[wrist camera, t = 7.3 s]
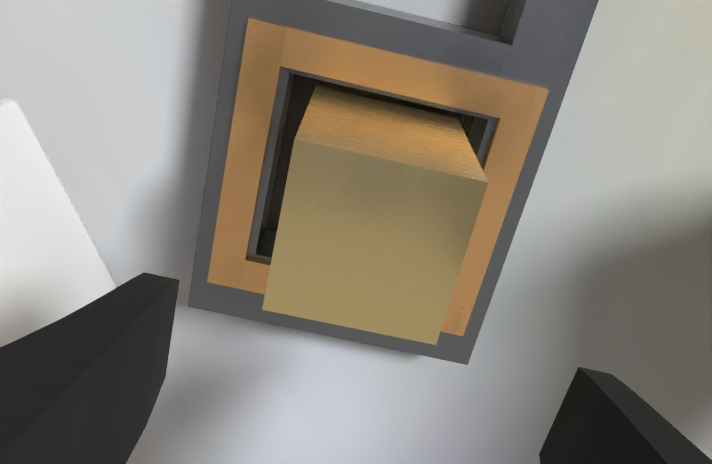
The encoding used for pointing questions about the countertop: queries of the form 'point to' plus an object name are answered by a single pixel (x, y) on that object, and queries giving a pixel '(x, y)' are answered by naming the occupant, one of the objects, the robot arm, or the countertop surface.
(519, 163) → the grey rectangular frame
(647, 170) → the countertop surface
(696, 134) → the countertop surface
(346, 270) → the tan rectangular block
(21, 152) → the medicine bottle
